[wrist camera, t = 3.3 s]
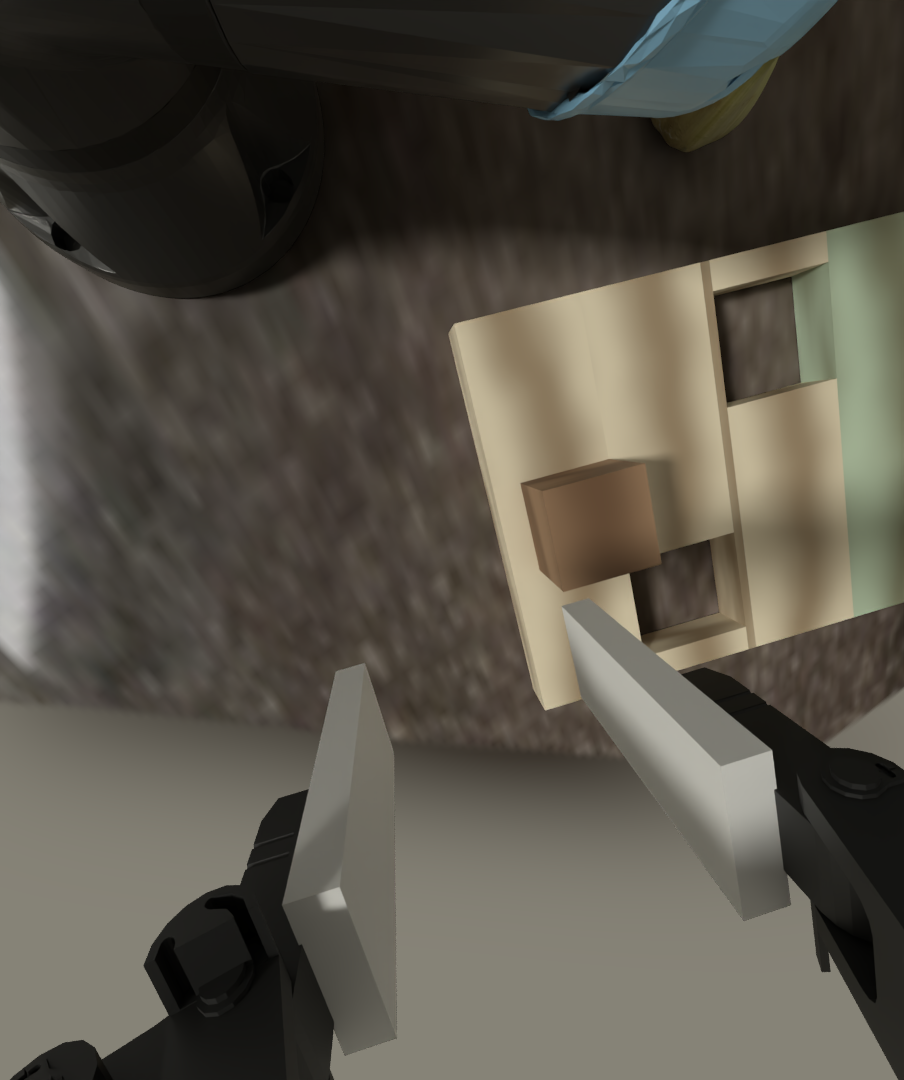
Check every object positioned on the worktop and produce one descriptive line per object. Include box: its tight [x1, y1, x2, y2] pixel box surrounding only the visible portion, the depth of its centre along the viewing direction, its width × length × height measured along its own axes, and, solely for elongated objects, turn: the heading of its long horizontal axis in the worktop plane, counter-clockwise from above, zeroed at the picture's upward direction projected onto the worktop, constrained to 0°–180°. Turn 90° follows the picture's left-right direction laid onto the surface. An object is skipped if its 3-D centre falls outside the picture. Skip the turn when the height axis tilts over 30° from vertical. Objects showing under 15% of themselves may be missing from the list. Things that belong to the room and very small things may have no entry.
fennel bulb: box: [651, 56, 779, 152], centre depth 21 cm, size 6×5×12 cm
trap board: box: [448, 212, 904, 710], centre depth 28 cm, size 28×22×5 cm
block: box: [520, 459, 662, 592], centre depth 26 cm, size 5×5×4 cm
